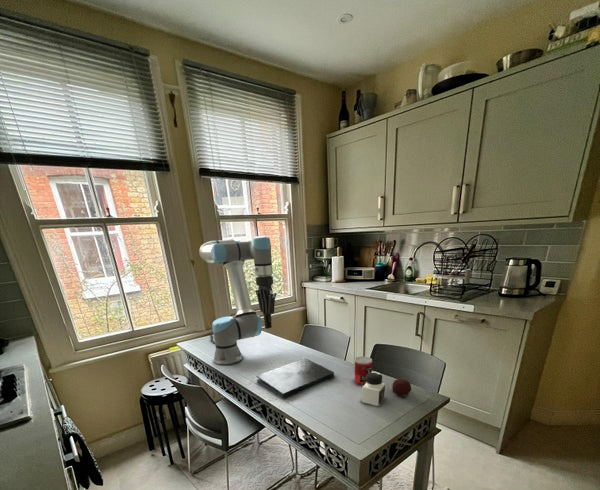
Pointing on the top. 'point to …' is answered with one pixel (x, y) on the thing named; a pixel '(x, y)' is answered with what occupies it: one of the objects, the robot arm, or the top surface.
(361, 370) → the canned food
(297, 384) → the laptop screen
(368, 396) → the medicine bottle
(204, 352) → the top surface
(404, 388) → the red apple
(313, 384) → the laptop
